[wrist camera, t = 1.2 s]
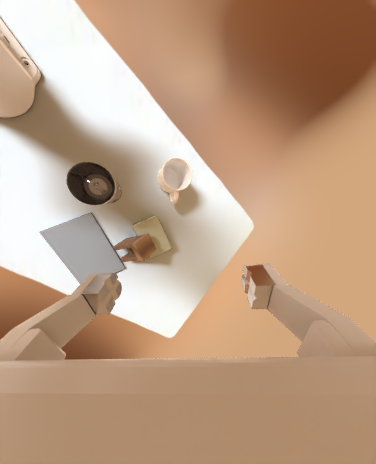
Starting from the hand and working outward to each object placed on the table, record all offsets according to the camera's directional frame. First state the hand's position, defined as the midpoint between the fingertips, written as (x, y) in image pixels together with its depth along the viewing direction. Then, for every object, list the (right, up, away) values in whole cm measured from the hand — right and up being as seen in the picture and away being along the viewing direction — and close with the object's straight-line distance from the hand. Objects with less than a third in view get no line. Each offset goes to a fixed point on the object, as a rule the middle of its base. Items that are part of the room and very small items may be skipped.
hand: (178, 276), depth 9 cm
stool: (-17, -1, +37) cm, 41 cm away
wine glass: (-23, +15, +32) cm, 42 cm away
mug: (-6, +18, +37) cm, 42 cm away
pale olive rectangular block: (-12, +2, +38) cm, 40 cm away
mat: (-30, -3, +33) cm, 45 cm away
